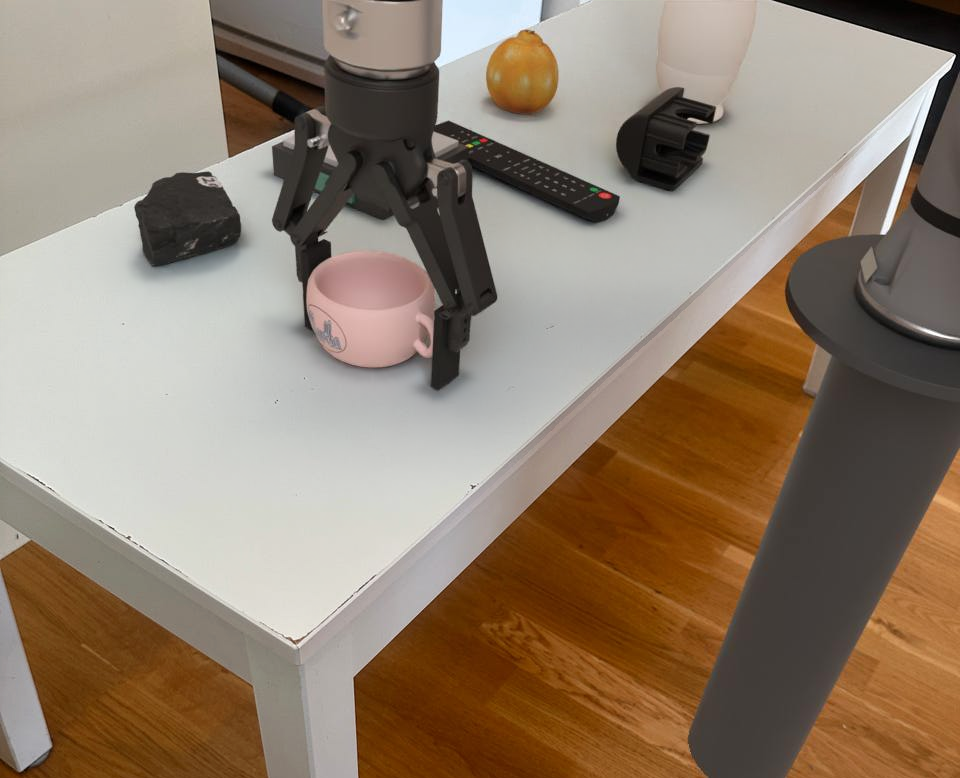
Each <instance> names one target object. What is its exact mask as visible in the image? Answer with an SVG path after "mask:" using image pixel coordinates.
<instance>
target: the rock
mask: <svg viewBox="0 0 960 778" xmlns="http://www.w3.org/2000/svg"><path fill="white" fill-rule="evenodd" d="M133 206H134V207H133V208H134V213H135V217H136V219H137V222H138V225H137V226H138V229H139V233H140V236H139V237H140V240H141V245H142V247H141V249H142V253H143V255H144V257H145V259H146V260H147V262H148V263H149V264H150V265H151V266H158V265H159V266H160V265H166V264H170V263H174V262H177V261H180V260H182V259H186V258H187V259H188V258H191V257H194V256H197V255H198V256H199V255H205V254H208V253H211V252H215V251H217V250H220V249H223V248H226V247H230V246H231V245H234V243H236V242H237V241H238V240H239V239H240V236H241V234H242V221H241V215H240V212H239V211H238V209H237V208H236V206H235V205H233V202H232V200H231V199H230V197H229V195H228V194H227V191H226V190H225V189H224V186H223V185H222V183H221V182H220V181H219V179H218V177H217V176H215V175H213V173H212V172H211V171H201V172H183V171H182V172H175V174H173V175H172V176H168V177H167V176H165V177H162V178H160V179H157V180H155V181H154V182H153V183H152V184H151V187H150V189H149V191H148V193H146V196H144V197H143V198H142V199H140V200H138V201H137V202H135V204H134V205H133Z"/></svg>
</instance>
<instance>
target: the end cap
mask: <svg viewBox="0 0 960 778" xmlns="http://www.w3.org/2000/svg"><path fill="white" fill-rule="evenodd" d="M683 93H684V88H681V87H673V88H670V89H667V90H666V91H664V92H662V93H661V94H660V95H659V94H657V96H656V97H654V98H653V99H652V100H650V101H649V102H647V103H646V104H645V105H644V106H642V108H640V109H639V110H638V111H636V112H635V113H633V114H632V115H631V116H630V117H629V118H627V119H626V120H625V121H624V122H623V123H622V124H621V126H620V127H619V130H618V132H617V135H616V137H615V149H616V153H617V154H616V155H617V158H618V160H619V162H620V163H621V165H622V166H623V168H624V169H625V170H626V171H627V173H629V175H630V176H631V178H632V179H634V180H636V181H637V182H639V183H642V184H645V185H647V186H652V187H655V188H658V189H661V190H664V191H668V192H673V191H675V190H676V189H677V188H678V187H680V185H682V184H683V183H684V182H685V181H686V180H687V179H688V178H689V177H690V176H691V175H692V174H693V173H694V172H695V171H697V170H698V169H699V168H700V167H701V166H702V164H703V162H704V161H703V160H704V158H703V157H702V156H703V155H704V154H705V153H706V151H707V148H708V145H709V141H710V137H711V135H710V134H709V133H704V132H701V131H699V130H698V131H697V130H694V129H695V128H696V127H697V124H696V123H697V122H694V121H691V120H687V119H688V118H694V119H697V120H701V121H704V122H708V123H707V124H713V123H714V122H713V120H714V116H715V111H716V106H712V105H709V104H705V103H702V102H698V101H694V100H691V99H687V98H684V97H683Z"/></svg>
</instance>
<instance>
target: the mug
mask: <svg viewBox="0 0 960 778" xmlns="http://www.w3.org/2000/svg"><path fill="white" fill-rule="evenodd" d="M435 298H436V296H435V288H434V286H433V284H432V282H431V279H430V277H429V275H428V273H427V271H426V269H425V268H423V267H422V266H420V265H419V264H418V263H416V262H415V261H412V260H410V259H409V258H407V257H404V256H401V255H398V254H395V253H390V252H385V251H378V250H357V251H356V250H355V251H348V252H344V253H339V254H335V255H334V256H331V258H328V259H327V260H325V261H323V262H322V263H320V264H319V265H318V266H317V267H316V268H315V269H314V270H313V272H312V273H311V275H310V277H309V279H308V285H307V299H306V303H307V312H308V316H309V319H310V323H311V326H312V328H313V329H312V331H313V332H314V334H315V336H316V338H317V340H318V342H319V343H320V344H321V346H322V347H323V348H324V350H325V351H326V352H328V353H329V354H330V355H331V356H332V357H333V358H335V359H337V360H338V361H340V362H343V363H346V364H348V365H350V366H356V367H361V368H385V367H391V366H394V365H399V364H400V363H403V362H405V361H407V360H408V359H410V358H411V357H413V356H414V355H415V354H416V353H418V354H419V355H420V356H422V358H428V359H429V358H431V359H432V351H433V330H434V310H436V299H435ZM428 335H429V338H430V339H429V340H430V345H429V346H427V345H426V344H425V343H424V342H425V340H426V339H427V337H428Z"/></svg>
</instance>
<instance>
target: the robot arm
mask: <svg viewBox="0 0 960 778" xmlns="http://www.w3.org/2000/svg"><path fill="white" fill-rule="evenodd" d="M443 3H444V2H443V0H322V29H323V33H322V34H323V48H324V50H325V51H326V52H327V54H329V55H328V57H326V59H325V60H324V63H323V78H324V80H323V81H324V82H323V83H324V106H322V105H320V106H318V107H316V108H314V109H311V110H308V111H305V112H303V113H301V114H299V115H296V116H295V118H294V122H293V123H294V135H295V146H294V149H293V153H292V156H291V159H290V162H289V166H288V169H287V172H286V175H285V179H283V182H282V185H281V188H280V193H279V195H278V198H277V201H276V205H275V208H274V212H273V214H272V218H271V224H272V226H273V229H275V231H277V232H280V233H281V232H283V231H284V232H285V234H287V235H288V236H289V239H290V242H291V244H292V245H293V246H294V251H295V267H296V270H295V271H296V276H297V280H298V282H300V283H301V284H302V301H303V318H304V319H303V321H304V327H305V328H307V329H308V330H311V331H313V328H312V326H311V323H310V319H309V316H308V312H307V303H306V299H307V285H308V279H309V277H310V275H311V273H312V272H313V270H314V269H315V268H316V267H317V266H318V265H319V264H320V263H322V262H323V261H325V260H327V259H328V258H331V257H332V241H329V240H327V239H326V238H323V239H321V240H319V238H320V237H322V236H324V235H326V234H328V231H327V229H328V228H329V226H330V225H331V224H332V223H333V221H334V220H335V219H336V218H337V216H338V215H339V214H340V212H341V211H342V210H343V208H344V207H345V206H346V203H347V202H348V201H349V199H350V198H351V197H352V195H353V194H354V193H355V197H356V198H358V199H360V200H363V201H372V202H374V203H375V204H376V205H378V206H379V207H380V208H382V209H385V210H387V211H391V210H392V212H393V216H394V218H395V220H396V222H397V224H398V226H400V227H401V228H405V229H406V231H407V233H408V237H410V240H411V242H412V244H413V246H414V248H415V250H416V253H417V255H418V256H419V259H420V261H421V263H422V265H423V267H424V270H425V272H426V273H427V274H428V275H429V277H430V279H431V282H432V284H433V287H434V291H435V293H436V294H437V297H438V299H439V300H440V303H441V305H440V306H438V307H437V308H435V310H434V318H433V321H434V330H433V351H432V357H431V375H430V387H431V388H433V389H435V390H438V391H439V390H441V389H442V388H443V387H445V386H447V385H448V384H449V383H450V382H452V381H453V380H454V379H457V377H458V376H460V364H461V350H463V349H464V348H466V346H468V344H469V342H470V339H471V327H472V326H471V325H472V317H476V316H477V315H479V314H481V313H483V311H485V310H486V309H488V308H489V307H491V306H492V305H494V304H495V303H496V302H497V301H498V292H497V289H496V285H495V281H494V276H493V273H492V268H491V265H490V261H489V257H488V253H487V249H486V244H485V242H484V241H485V240H484V237H483V233H482V229H481V225H480V222H479V218H478V214H477V209H476V206H475V202H474V198H473V179H474V177H473V176H474V175H473V173H474V171H473V166H471V164H470V163H469V162H468V161H467V160H461V161H459V162H457V163H455V164H452V163H449V162H445V161H442V160H438V159H436V156H435V153H434V150H433V146H432V135H433V131H434V128H435V125H437V122H438V115H439V113H438V112H439V111H438V110H439V92H440V90H439V89H440V68H439V67H438V66H437V65H436V60H438V59H439V58H440V56H441V53H442V33H443V32H442V31H443ZM957 74H958V75H957V78H956V79H955V82H954V84H953V87H952V89H951V93H950V95H949V98H948V100H947V103H946V106H945V108H944V111H943V113H942V116H941V119H940V121H939V124H938V126H937V129H936V131H935V133H934V137H933V139H932V141H931V145H930V148H929V150H928V151H927V155H926V158H925V160H924V163H923V165H922V168H921V170H920V173H919V176H918V178H917V182H916V184H915V186H914V189H913V191H912V194H911V196H910V199H909V201H908V203H907V205H906V207H905V208H904V209H903V211H902V212H901V213H900V214H899V216H898V218H897V219H896V220H895V221H894V222H893V223H892V225H891V226H890V227H889V229H888V230H887V231H886V232H885V234H883V235H884V237H883V238H882V239H881V240H880V242H879V243H878V244H877V246H876V247H875V248H874V249H872V247H871V248H870V249H869V251H868V252H867V253H866V255H865V256H864V258H863V259H862V260H861V266H862V267H861V269H860V272H859V274H858V277H857V280H856V282H855V286H854V292H855V296H856V299H857V301H858V303H859V304H860V306H861V307H862V308H863V309H864V311H865V312H866V313H867V314H868V315H870V316H871V317H872V318H873V319H874V320H876V321H877V322H878V323H880V324H881V325H883V326H884V327H886V328H888V329H889V330H891V331H893V332H895V333H897V334H899V335H901V336H903V337H906V338H908V339H911V340H913V341H916V342H919V343H922V344H925V345H929V346H932V347H936V348H941V349H946V350H952V351H959V352H960V71H959V72H958V73H957ZM328 145H330V147H331V149H332V151H333V153H334V155H335V157H336V159H337V162H338V165H337V167H336V168H335V169H334V171H333V172H332V174H331V175H330V176H329V178H328V179H327V180H326V182H325V183H324V185H325V187H324V189H323V190H322V191H321V193H320V194H319V193H318V195H317V197H316V198H315V200H314V201H313V202H312V204H311V205H310V203H311V200H312V197H313V194H314V192H315V191H314V189H315V186H316V183H317V180H318V177H319V174H320V171H321V168H322V165H323V162H324V159H325V156H326V153H327V150H328ZM429 180H431V181H432V182H433V185H434V188H433V189H432V187H431V184H430V182H429ZM416 196H417V198H418V200H419V201H418V205H417V206H415V207H413V208H412V207H411V205H410V206H409V205H408V203H410V202H411V201H413V200H414V198H415V197H416Z"/></svg>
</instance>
